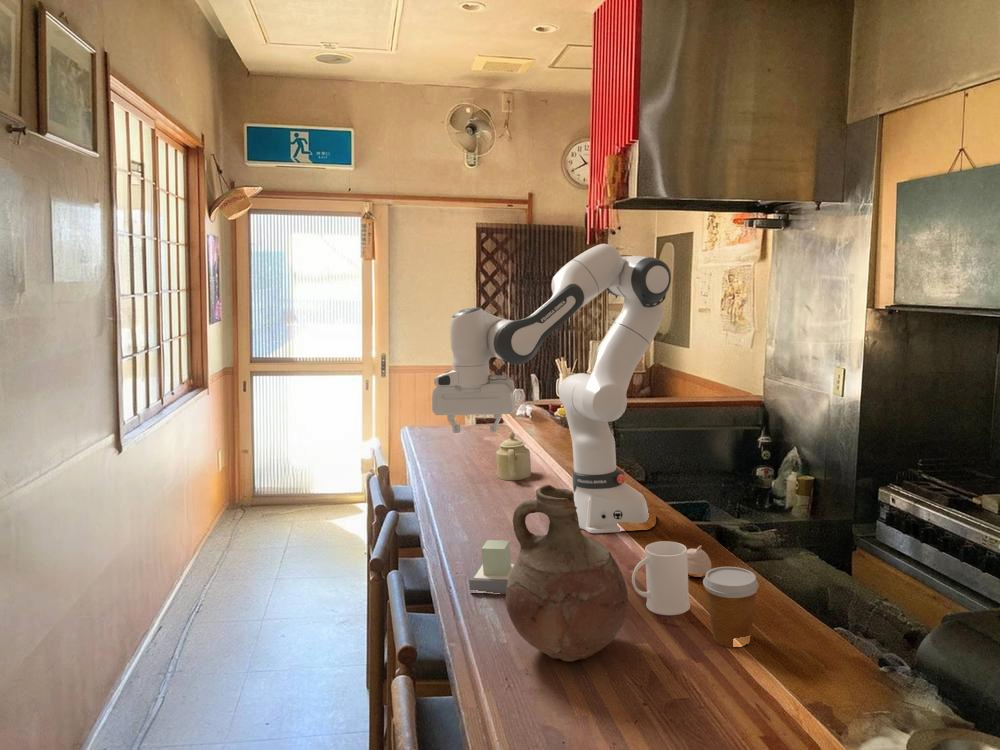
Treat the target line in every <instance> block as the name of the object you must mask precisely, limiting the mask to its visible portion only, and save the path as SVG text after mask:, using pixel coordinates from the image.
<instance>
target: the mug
mask: <svg viewBox="0 0 1000 750" xmlns="http://www.w3.org/2000/svg"><path fill="white" fill-rule="evenodd" d="M687 548H688V547H687V546H686V545H684V544H682V543H679V542H678V541H677V542H676V541H669V540H668V541H666V540H663V541H662V540H659V541H655V542H651V543H649V544H647V545H645V548H644V551H645V553H644V555H645V556H644V557H645V558H643V559H641V560H640V561H639V562H638V563H637V564H636V566H635V567H634V570H633V571H632V575H631V584H632V586H633V589H634V590H635V592H636V593H637V594H638V595H639V596H641V597H644V598H646V603H645V606H646V608H647V609H648V611H650V612H651V613H654V614H657V615H661V616H677V615H681V614H685V613H686V612H688V611H690V609H691V603H690V598H689V596H690V595H689V576H688V565H687V550H688V549H687ZM644 565H645V575H646V576H645V578H646V581H645V582H646V591H642V590H640V589H639V588H638V587H637V585H636V575H637V572H638V571H639V569H640V568H641V567H642V566H644Z"/></svg>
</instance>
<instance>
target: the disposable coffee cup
mask: <svg viewBox="0 0 1000 750" xmlns="http://www.w3.org/2000/svg"><path fill="white" fill-rule="evenodd" d="M702 584H703V587H704V588H705V592H706V597H707V603H708V604H707V605H708V610H709V616H710V622H711V629H712V634H713V640H714V642H715V643H716V644H718V645H720V646H722V647H725V648H730V649H731V648H732V649H734V648H733V639H734V638H740V637H746V636H749V635H750V634H751V635H752V631H753V629H752V628H753V621H754V611H755V604H756V597H757V592H758V589H759V587H760V583H759V581H758V580H757V577H756V575H755V573H754V572H752V571H751V570H748V569H746V568H742V567H738V566H737V567H736V566H720V567H714V568H711V570H709V571H707V573H706V575H705V577H703V580H702Z"/></svg>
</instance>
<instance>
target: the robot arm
mask: <svg viewBox="0 0 1000 750" xmlns="http://www.w3.org/2000/svg"><path fill="white" fill-rule="evenodd" d="M671 281H672V273H671V269H670V268H669V265H668V264H666V263H665V262H664V261H662V260H660V259H659V258H656V257H652V256H651V257H648V256H643V255H630V256H629V255H628V256H627V255H626V256H625V255H621V253H620V252H619V251H618V250H617V248H616V247H614V246H613V245H612V244H607V243H600V244H597V245H594V246H593V247H591V248H589V249H587V250H585V251H584V252H581V253H580V254H578V255H577V256H575V257H574V258H572V259H571V260H570V261H568V262H567V263H566V264H564V265H563V266H562V267H561V268H560V269H559V270H558V271H557V272H556V273H555V275H554V276H553V277H552V279H551V292H552V295H551V297H550V298H549V299H548V300H546V301H545V303H543V304H542V305H541V306H540V307H538V308H537V309H536V310H535V311H534V312H533V313H531V314H530V315H528V316H527V317H525V318H522V319H517V320H512V319H506V318H503V317H499V316H496V315H494V314H491V313H489V312H488V311H486V310H484V309H483V308H482V307H479V306H478V307H477V306H476V307H475V306H474V307H470V308H464V309H461V310H459V311H456V312H455V313H454V314H453V315H452V316H451V319H450V327H449V328H450V329H449V332H450V334H449V335H450V336H449V338H450V340H449V341H450V348H451V349H450V350H451V351H452V363H451V365H452V366H451V368H452V369H451V370H447V371H445V372H444V373H440V374H439V375H437V376H435V378H434V379H433V384H434V386H435V387H434V388H433V389H432V395H431V396H432V397H431V410H432V413H433V414H434V415H435V416H447V417H446V418H447V421H448V422H449V424H450V425H451V428H452V434H460V433H461V432H462V431H461V424H457V422H456V421H455V418H456V416H465V415H466V416H468V415H470V416H473V415H475V416H478V415H480V416H481V415H493V419H494V420H495V421H494V423H491V424H490V425H489V429H490V433H494V434H495V433H498V430H499V428H498V427H499V426H498V425H499V423H500V421H501V419H502V417H503V415H511V414H512V413H513V412H514V411H515V410H516V402H515V401H516V400H515V395H514V391H515V381H514V379H513V378H512V377H510V376H509V375H507V374H503V375H495V374H493V375H491V374H490V373H491V372H490V359H491V358H497V359H500V360H502V361H505V362H507V363H508V364H511V365H523V364H526V363H527V362H530V361H531V360H532V359H533V358H534V357H535V356H536V355H537V353H538V351H539V350H540V348H541V346H542V345H543V343H544V341H545V340H546V338H548V337H549V336H550V335H551V334H552V333H554V331H555V330H557V329H558V328H559V327H561V325H563V324H564V323H565V322H566V321H567V320H568V319H569V318H570V317H572V316H573V314H575V313H576V312H577V311H579V310H580V309H581V308H583V307H584V306H586V305H587V304H588V303H589V302H591V301H592V300H594V299H596V298H597V296H599V295H600V294H601V293H603V292H604V291H607V292H608V293H610V294H611V295H612V296H616V297H622V298H623V305H622V309H621V311H620V313H619V314H618V316H617V317H616V319H615V320H614V321H613V323H612V325H611V326H610V328H609V329H608V331H607V333H606V334H605V336H604V337H603V339H602V340H601V342H600V344H599V345H598V347H597V351H596V353H597V356H596V359H595V360H596V361H595V363H594V366H593V369H592V371H591V372H590V374H589V373H585V372H584V373H583V372H579V373H575V374H571V375H568V376H567V377H565V378H564V379H563V381H561V384H560V386H559V389H558V396H559V400H560V401H561V403H562V406H563V408H564V412H565V417H566V422H567V426H568V428H569V433H570V437H571V445H572V457H573V458H572V459H573V469H572V475H571V476H572V477H571V481H572V488H573V494H574V502H575V506H576V507H577V509H576V512H577V515H578V521H579V527H580V530H581V529H582V530H584V531H586V532H587V533H590V534H604V533H605V534H606V533H607V534H608V533H622V532H621V531H620V528H619V527H618V526H617V523H618V522H630V523H644V522H646V521H647V520H648V518H649V513H648V510H649V508H648V505H647V504H648V503H647V501H646V499H645V497H644V495H643V494H642V493H641V492H640V491H638V490H637V489H635V488H634V487H632V486H631V485H629V484H627V483H626V482H625V481H626V475H625V471H624V469H623V468H622V469H620V468H618V467H617V459H616V458H617V456H616V455H617V454H616V441H615V437H614V435H613V433H612V431H611V428H610V426H609V422H614V421H616V420H619V419H620V417H622V416H623V414H624V413H625V411H626V409H627V405H628V398H627V391H628V388H629V386H630V382H631V380H632V378H633V377H632V376H633V374H634V372H635V370H636V368H637V366H638V365H639V364H640V362H641V360H642V358H643V357H644V355H645V353H646V352H647V350H648V349H649V347H650V346H651V343H652V342H653V341H654V338H655V337H656V335H657V334H658V331H659V329H660V327H661V324H662V323H663V319H664V316H665V311H664V308H663V306H662V305H661V304H662V303H663V302H664V300H665V299H666V297H667V296H666V295H667V294H668V291H669V290H670V286H671Z"/></svg>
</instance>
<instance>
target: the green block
mask: <svg viewBox="0 0 1000 750" xmlns="http://www.w3.org/2000/svg"><path fill="white" fill-rule="evenodd" d="M510 542H511V541H510V540H505V539H504V540H501V539H500V540H499V539H498V540H497V539H496V540H493V539H491V540H489V539H487V540H486V542H485V543H484V545H483V546H481V559H482V562H483V574H484V575H497V576H506V575H507V573H508V572H509V570H510V568H511V563H512V560H511V559H512V557H511V556H512V555H511V543H510Z"/></svg>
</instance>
